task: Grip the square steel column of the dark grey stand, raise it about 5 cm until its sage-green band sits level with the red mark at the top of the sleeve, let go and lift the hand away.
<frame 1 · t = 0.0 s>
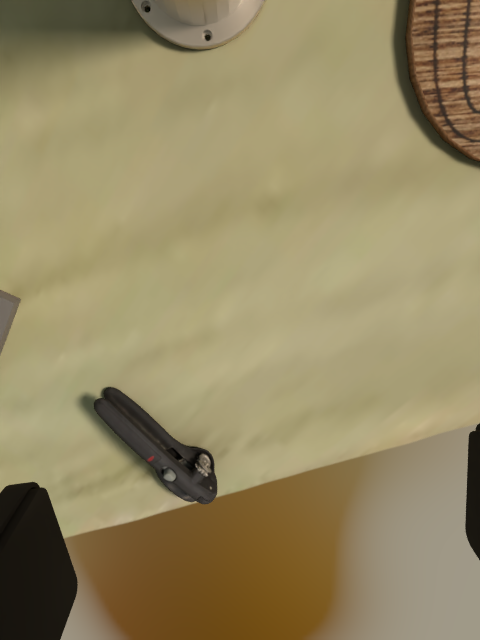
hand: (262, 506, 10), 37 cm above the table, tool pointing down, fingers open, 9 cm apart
can opener: (161, 434, 52), on the table
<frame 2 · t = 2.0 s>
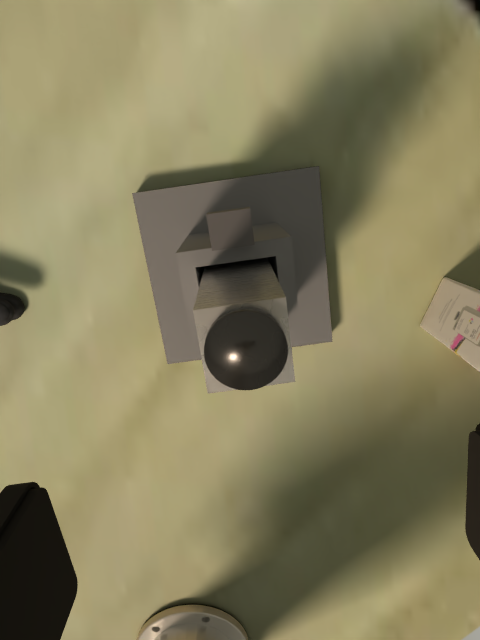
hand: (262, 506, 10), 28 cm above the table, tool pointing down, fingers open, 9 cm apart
ink cartridge box: (471, 315, 38), on the table
column: (241, 300, 26), point 10 cm above the table, slide at 0.0 cm
stand: (237, 268, 36), on the table
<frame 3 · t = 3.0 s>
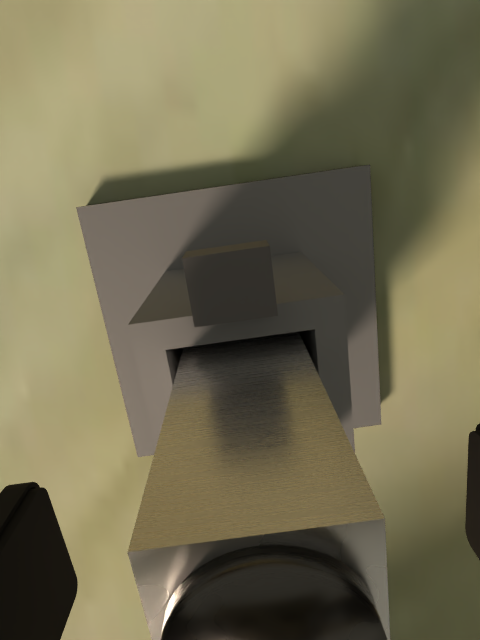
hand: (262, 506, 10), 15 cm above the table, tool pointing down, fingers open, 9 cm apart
column: (249, 404, 15), point 10 cm above the table, slide at 0.0 cm
stand: (241, 316, 24), on the table
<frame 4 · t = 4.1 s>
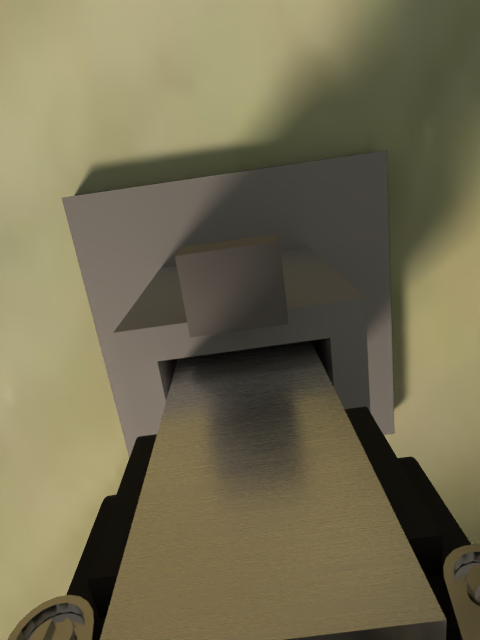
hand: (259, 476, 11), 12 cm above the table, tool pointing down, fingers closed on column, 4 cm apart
column: (254, 422, 13), point 10 cm above the table, slide at 0.0 cm, touching gripper
stand: (243, 317, 22), on the table
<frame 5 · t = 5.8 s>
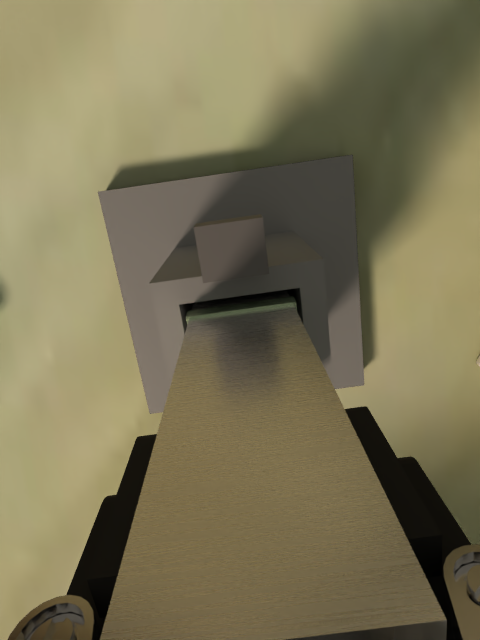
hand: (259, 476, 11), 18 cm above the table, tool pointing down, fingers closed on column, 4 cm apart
column: (254, 422, 13), point 15 cm above the table, slide at 5.4 cm, touching gripper
stand: (241, 289, 27), on the table
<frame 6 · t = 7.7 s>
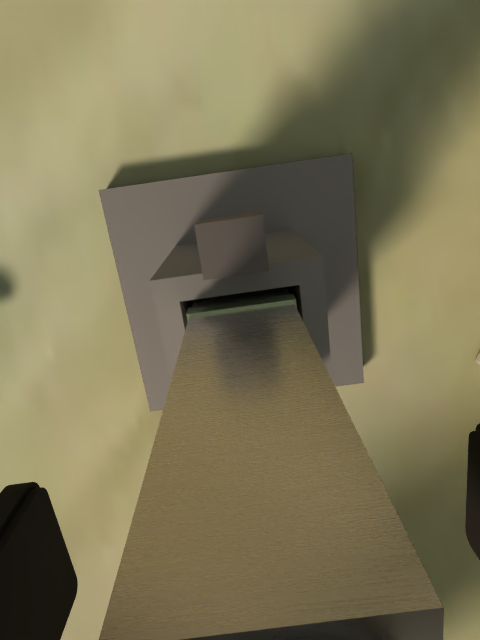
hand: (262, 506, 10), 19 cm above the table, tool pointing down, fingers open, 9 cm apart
column: (254, 418, 13), point 15 cm above the table, slide at 5.4 cm
stand: (241, 287, 27), on the table
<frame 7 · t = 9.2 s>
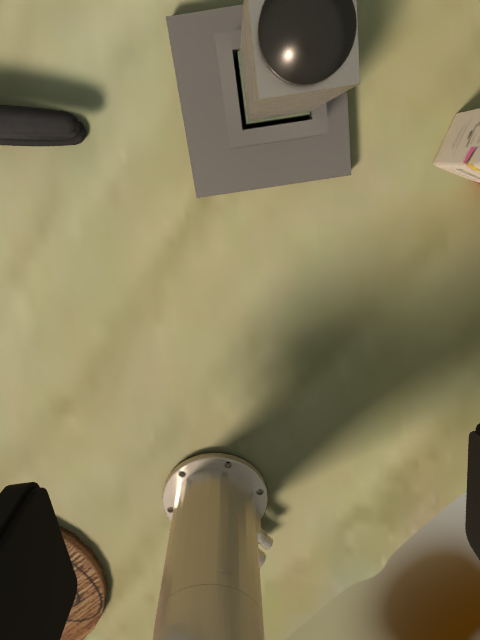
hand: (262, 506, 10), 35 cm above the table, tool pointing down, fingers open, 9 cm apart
trivet: (14, 579, 58), on the table
column: (282, 70, 24), point 15 cm above the table, slide at 5.4 cm
stand: (262, 102, 38), on the table
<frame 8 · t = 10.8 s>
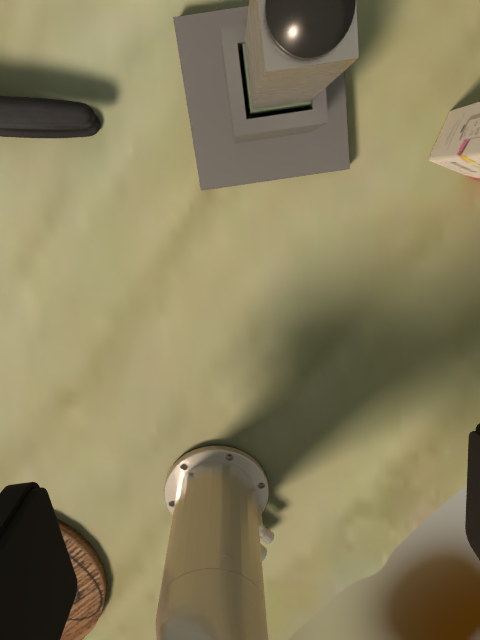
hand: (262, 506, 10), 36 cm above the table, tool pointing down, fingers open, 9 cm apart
can opener: (8, 117, 40), on the table
trivet: (13, 577, 58), on the table
ink cartridge box: (475, 150, 42), on the table
column: (285, 57, 25), point 15 cm above the table, slide at 5.4 cm
stand: (265, 99, 40), on the table
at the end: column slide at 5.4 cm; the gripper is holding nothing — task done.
